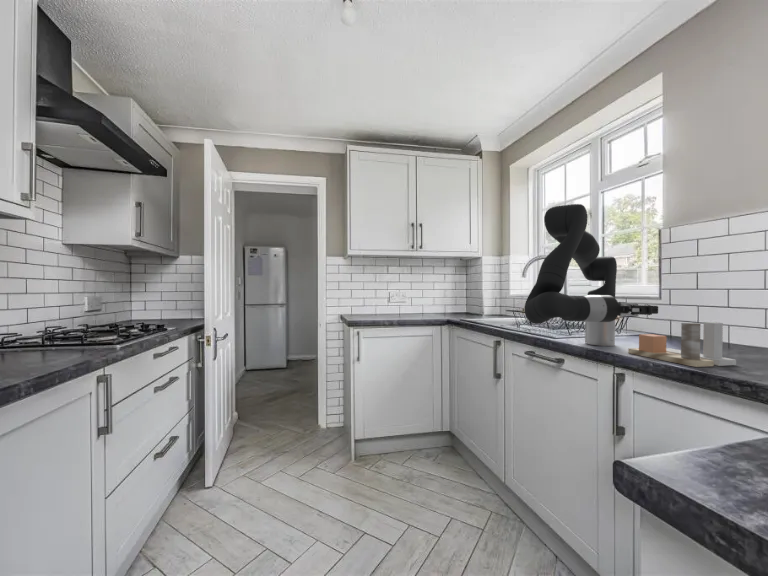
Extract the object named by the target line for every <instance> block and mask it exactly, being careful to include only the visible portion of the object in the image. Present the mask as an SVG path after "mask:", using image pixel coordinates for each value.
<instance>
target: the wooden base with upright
mask: <svg viewBox="0 0 768 576" xmlns="http://www.w3.org/2000/svg"><path fill="white" fill-rule="evenodd" d="M680 327H681V329H680V330H681V333H680V334H681V336H680V337H681V338H680V340H681V343H680V350H681V355H680V354H674V353H669V352H663V353H651V352H646V351H641V350H639V347H635V348H634V347H633V348H632V347H631V348H628V349H627V350H628V351H627V353H628V354H630V355H631V354H632V355H636V356H642V357H645V358H649V359H650V358H651V359H655V360H660V361H665V362H670V363H675V364H680V365H684V366H688V367H695V368H703V367H705V368H706V367H714V366H715V365H714V361H712V360H707V359H702V358H700V354H701V323H699V322H697V323H696V322H681V325H680Z"/></svg>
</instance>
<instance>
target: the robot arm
mask: <svg viewBox="0 0 768 576" xmlns="http://www.w3.org/2000/svg"><path fill="white" fill-rule="evenodd" d="M543 223H544V226H545V230H546V231H547V233H548V235H550V236H551V238H552V239H554V240H555V241H556V242H558V245H557V246H556V247H554V249H553V250H552V251H550V253H548V254H547V256H546V257H545V258H544V259H543V260H542V263H541V265H540V268H539V271H538V275H537V279H536V281H535V284H534V286H533V287H532V289H531V291H530V293H529V294H528V296H527V299H526V300H525V303H524V309H523V311H524V315H525V317H526V319H527V320H528V322H530V323H531V324H534V325H535V324H536V325H538V324H543V323H546V322H548V321H550V320H553V319H555V318H560V319H561V320H564V321H566V322H584V323H585V324H584V326H585V327H584V329H585V331H584V334H585V335H584V342H585V344H588V345H592V346H598V347H599V346H600V347H612V346H615V345H616V343H615V342H616V319H617V318H618V317H626V316H633V317H636V316H639V315H642V316H643V315H647V316H651V315H658V314H659V306H658V305H650V304H644V305H643V304H639V303H637V302H626V301H618V300H617V298H616V289H617V287H616V286H617V285H616V284H617V272H618V265H617V260H616V258H615V257H614V256H612V255H611V256H609V255H608V256H599V255H600V245H599V243H598V241H597V239H596V238H595V236H593V234H591V233H590V232H589V231H586V229H587V225H588V211H587V208H586V207H585V206H584V205H583V204H581V203H573V204H562V205H555V206H552V207H550V208H548V209H547V210H546V212H545V213H544V216H543ZM572 260H573V261H575V263H576V265H578V267H579V269H580V271H581V273H582V274H583V276H584V278H585V279H586V280H587V281H590V282H604V284H603V285H601V286H599V287H597V288H596V289H592V290H589V291H588V292H587V294H584V295H568V294H567V293H566V294H565V293H563V292H562V290H563V288H564V285H565V283H566V282H565V281H566V278H567V276H568V275H567V274H568V270H569V267H570V264H571V261H572Z"/></svg>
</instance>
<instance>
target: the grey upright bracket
mask: <svg viewBox="0 0 768 576" xmlns="http://www.w3.org/2000/svg"><path fill="white" fill-rule="evenodd" d="M723 324H724V323H723V322H714V321H706V322H705V321H704V322H703V331H702V332H703V340H702V343H703V344H702V351H703V353H700V358H702V359H707V360H712V361H714V366H718V367H722V366H736V365H737V359H735V358H728V357H723V340H724V339H723V338H724V337H723V334H724V332H723V331H724V328H723V326H724V325H723ZM666 352H669V353H674V354H680V355H681V349H677V348H671V347H666Z"/></svg>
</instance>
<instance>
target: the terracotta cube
mask: <svg viewBox="0 0 768 576" xmlns="http://www.w3.org/2000/svg"><path fill="white" fill-rule="evenodd" d="M667 338H668V337H667V335H662V334H653V333H647V334H646V333H645V334H643V333H641V334H638V348H639V350H641V351H646V352H651V353H663V352H666V348H667Z"/></svg>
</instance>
